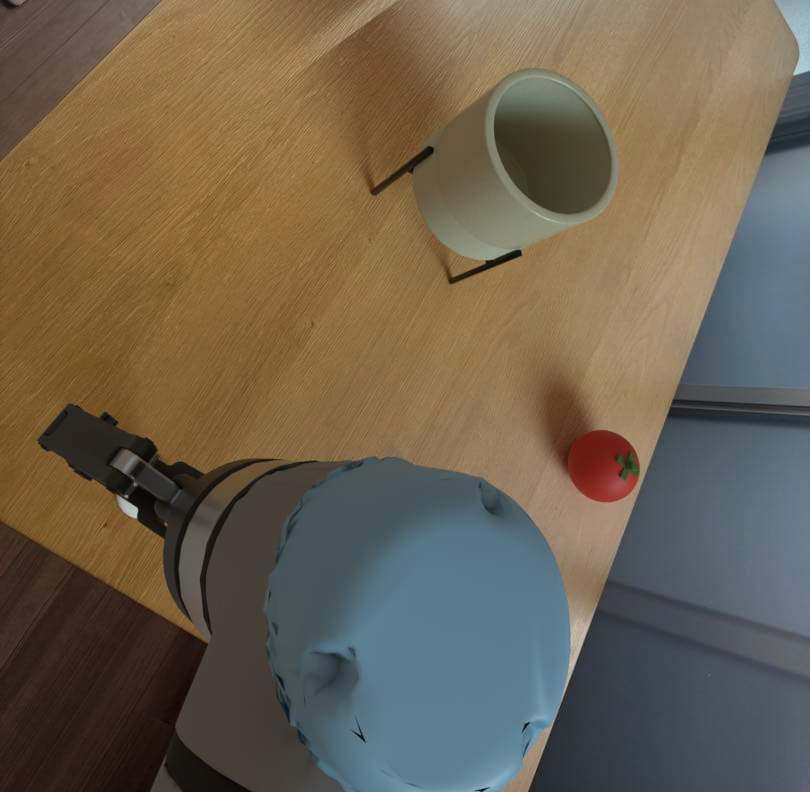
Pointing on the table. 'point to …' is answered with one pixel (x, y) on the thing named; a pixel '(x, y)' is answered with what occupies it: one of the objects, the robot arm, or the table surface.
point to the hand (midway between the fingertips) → (178, 515)
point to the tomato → (603, 466)
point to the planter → (514, 168)
